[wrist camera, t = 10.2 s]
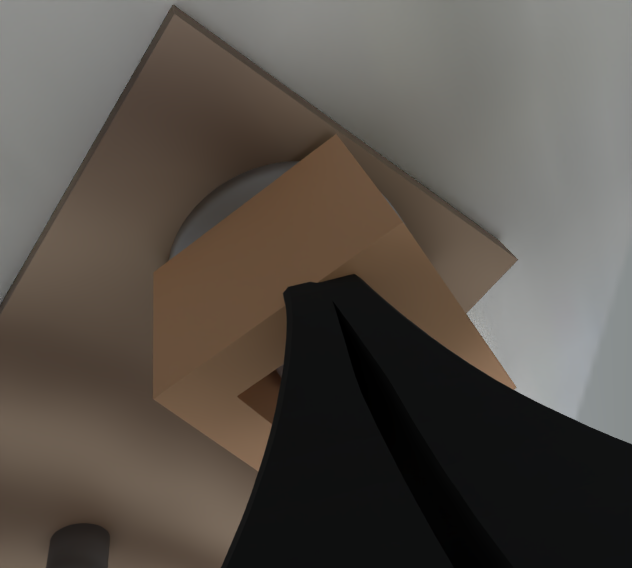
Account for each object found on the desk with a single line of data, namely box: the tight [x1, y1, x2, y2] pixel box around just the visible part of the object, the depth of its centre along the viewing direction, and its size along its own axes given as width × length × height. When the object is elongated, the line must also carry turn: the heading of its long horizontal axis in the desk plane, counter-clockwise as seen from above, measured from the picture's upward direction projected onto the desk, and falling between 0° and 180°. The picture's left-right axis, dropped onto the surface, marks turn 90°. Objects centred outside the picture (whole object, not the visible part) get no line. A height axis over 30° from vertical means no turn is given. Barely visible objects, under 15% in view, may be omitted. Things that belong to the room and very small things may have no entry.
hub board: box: [0, 5, 518, 568], centre depth 17 cm, size 21×12×6 cm, turn 142°
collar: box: [153, 134, 517, 471], centre depth 13 cm, size 6×6×4 cm
